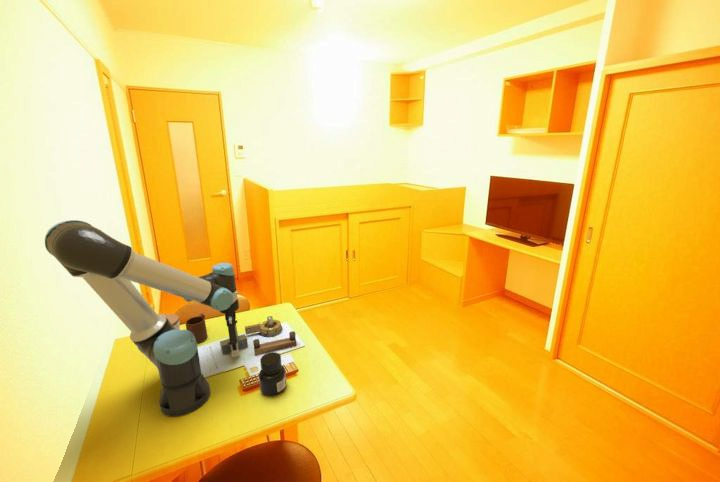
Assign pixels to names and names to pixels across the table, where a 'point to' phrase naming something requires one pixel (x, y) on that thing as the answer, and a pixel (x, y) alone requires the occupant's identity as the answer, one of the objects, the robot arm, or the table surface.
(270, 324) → the nut station
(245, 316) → the table surface
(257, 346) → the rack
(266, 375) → the ink bottle
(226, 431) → the table surface
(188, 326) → the mug
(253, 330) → the golden ring with handle
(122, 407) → the table surface
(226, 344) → the bar
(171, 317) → the lidded bowl
